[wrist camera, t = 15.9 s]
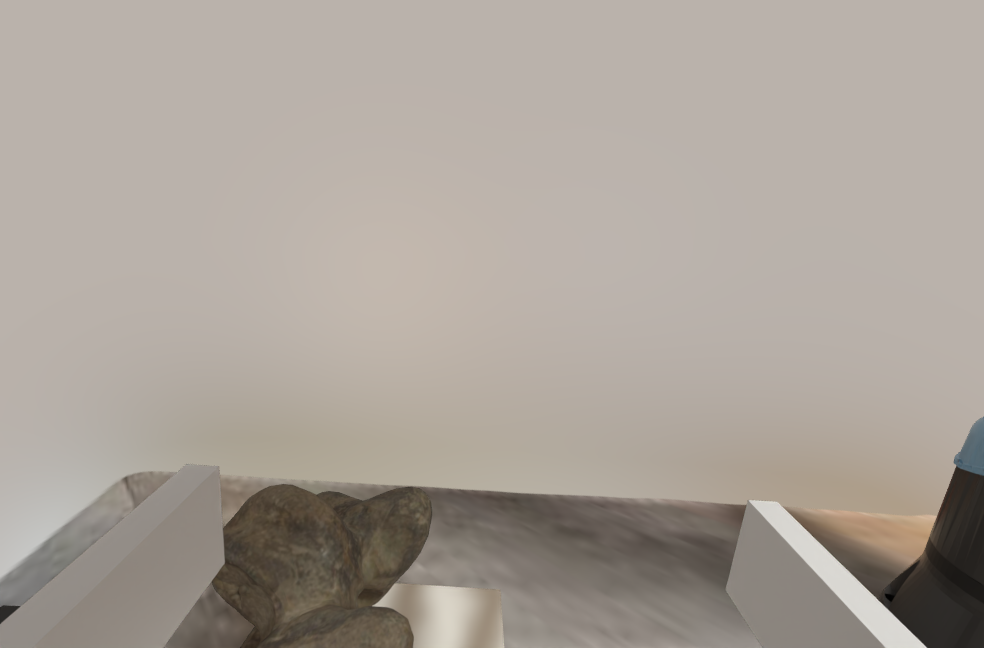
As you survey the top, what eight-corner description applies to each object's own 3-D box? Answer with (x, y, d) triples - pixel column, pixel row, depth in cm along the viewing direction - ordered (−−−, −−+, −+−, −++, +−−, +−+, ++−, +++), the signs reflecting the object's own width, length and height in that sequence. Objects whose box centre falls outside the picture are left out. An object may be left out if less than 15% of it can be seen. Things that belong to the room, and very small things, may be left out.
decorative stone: (286, 602, 34) (287, 417, 31) (432, 616, 34) (449, 434, 31) (110, 919, 19) (76, 615, 15) (377, 943, 19) (400, 647, 16)
